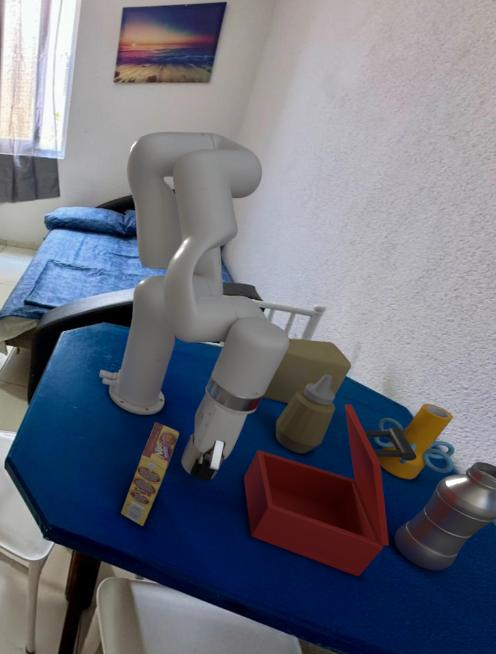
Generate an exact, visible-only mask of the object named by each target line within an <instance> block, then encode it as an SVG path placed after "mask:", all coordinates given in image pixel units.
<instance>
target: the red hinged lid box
mask: <svg viewBox="0 0 496 654" xmlns="http://www.w3.org/2000/svg"><path fill="white" fill-rule="evenodd" d="M243 481H244V482H243V483H244V490H245V491H244V492H245V498H246V507H247V514H248V521H249V523H248V524H249V529H250V537H253V538H254V539H258V540H260V541H263V542H266V543H268V544H270V545H273V546H276V547H279V548H280V549H281V548H282V549H284V550H287V551H289V552H292V553H295V554H296V555H300V556H303V557H305V558H308V559H310V560H313V561H316V562H319V563H321V564H324V565H326V566H329V567H332V568H334V569H337V570H340V571H342V572H345V573H348V574H350V575H353V576H355V577H359V576H361V574H362V573H363V571H365V570H366V569H367V567H368V566H369V565H370V563H371V562H372V561H373V560H374V559H375V558H376V557H377V555H379V553H380V552H381V551H382V550H383V548H384V545H382V544H381V542H380V540H379V537H378V535H377V532H376V530H375V528H374V525H373V523H372V520H371V518H370V515H369V513H368V510H367V508H366V505H365V503H364V501H363V498H362V496H361V493H360V491H359V488H358V486H357V483H356V481H355V478H351V477H346V476H344V475H341V474H337V473H334V472H331V471H328V470H324V469H321V468H318V467H315V466H312V465H308V464H305V463H302V462H299V461H295V460H292V459H288V458H286V457H282V456H279V455H276V454H273V453H270V452H269V453H268V452H266V451H263V450H260V449H258V450H257V452H256V454H255V456H254V457H253V459H252V462H251V463H250V465H249V467H248V470H247V471H246V474H245V475H244V477H243Z"/></svg>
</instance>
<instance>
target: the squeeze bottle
mask: <svg viewBox="0 0 496 654" xmlns="http://www.w3.org/2000/svg"><path fill="white" fill-rule="evenodd" d="M332 378H333V377H332V376H331V375H328V374H326V375H324V376H323V377H322V378H321V379H320V380H319V381H318V382H317V383H316V384H308V385H307V386H306V388H305V390H301V391H298V392H296V394H295V395H294V397H293V398H292V399H291V401H290V402H289V404H288V403H287V405H286V406H285V408H284V410H282V412H281V413H280V415H279V416H278V418H277V419H276V421H275V437H276V440H277V441H278V443H279V444H280V445H282V446H283V447H284V448H285V449H287V450H289V451H290V452H293V453H296V454H306V453H308V452H310V451H312V450H313V449H315V448H316V447H318V446H320V445H321V444H322V443H323V441H324V437H325V435H326V432H327V430H328V428H329V425H330V423H331V420H332V418H333V415H334V413H335V410H336V405H334V403H333V402H334V400H335V398H336V394H335V395H334V393H333V392H332V391H331V390H330V388H331V383H332Z"/></svg>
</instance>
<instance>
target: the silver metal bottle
mask: <svg viewBox="0 0 496 654" xmlns="http://www.w3.org/2000/svg"><path fill="white" fill-rule="evenodd" d="M494 521H496V465H494V464H492V463H489V462H485V461H475V462H474V463H472V465H471V466H470V467H468V468H467V469H466V471H465V473H461V474H460V473H459V474H453V475H452V474H451V475H448V476H446V477H444V478H442V479H441V480H440V481H439V482H438V484H437V485H436V487H435V489H434V491H433V493H432V495H431V497H430V499H429V500H428V501H427V503H426V504H425V505H424V506H423V508H422V510H420V511H419V512H418V513H417V514H416V515H415V516H414V517H413V518H411V519H410V520H408V521H407V522H405V523H404V524H402V525H400V526H399V527H398V528H397V529H396V532H395V534H394V538H393V539H394V544H395V547H396V548H397V550H398V552H400V553H401V555H403V557H405V558H406V559H407V560H408V561H409V562H411V563H413V564H414V565H416V566H418V567H419V568H422V569H425V570H430V571H442V570H445V569H446V568H449V567H450V566H452V565H453V563H454V562H455V560H456V559H457V556H458V554H459V552H460V550H461V549H462V547H463V546H464V545H465V543H466V542H467V541H468V540H469V539H470V538H471V537H472V536H473V535H475V534H476V533H477V532H479V530H481V529H483V528H484V527H486V526H487V525H490V524H491V523H492V522H494Z"/></svg>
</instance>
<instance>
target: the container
mask: <svg viewBox="0 0 496 654" xmlns="http://www.w3.org/2000/svg"><path fill="white" fill-rule="evenodd" d="M212 448H213V447H212ZM212 448H211V449H212ZM200 453H201V452H199V451H197V450H196V448H195V443H194V432H193V433H192V434H191V435H190V436H189V438H188V440H187V443H186V446H185V448H184V450H183V453H182V455H181V459H180V462H181V466H182V467H183V469H184V470H185V471H186V472H187V473H188V474H189V475H190V471H191V469H192V467H193V465H194V463H195V460H196V459H199V456H200ZM210 457H211V454H208V453H206V455H205V458H204V459H206V460H210ZM223 462H224V460H223V459H222V458H221V460H220V465H219V469H220V468H221V465H222V464H223ZM219 469H218V471H215V472H214V474H213V476H212V478H211V480H212V479H214V478H215V477H216V475H217V474H218V472H219Z"/></svg>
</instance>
